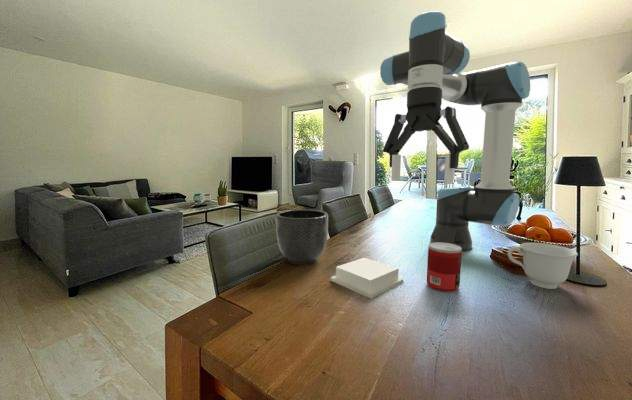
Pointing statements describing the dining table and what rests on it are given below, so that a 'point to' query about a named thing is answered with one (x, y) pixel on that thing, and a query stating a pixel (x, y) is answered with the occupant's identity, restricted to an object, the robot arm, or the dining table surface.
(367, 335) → the dining table surface
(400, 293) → the dining table surface
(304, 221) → the planter
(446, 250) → the canned food
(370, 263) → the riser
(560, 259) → the teacup
